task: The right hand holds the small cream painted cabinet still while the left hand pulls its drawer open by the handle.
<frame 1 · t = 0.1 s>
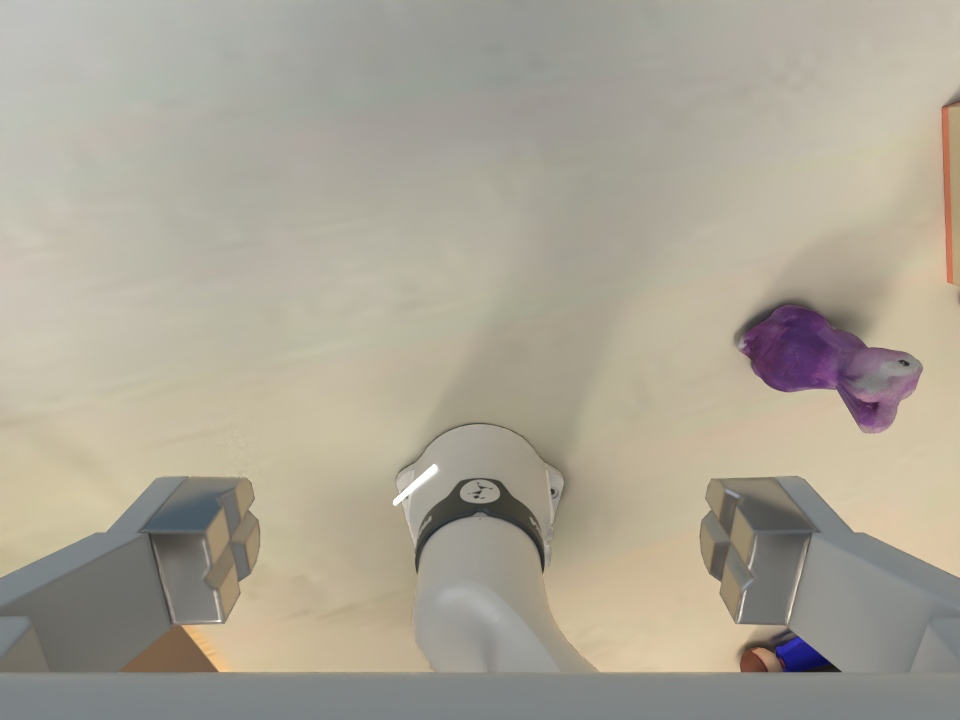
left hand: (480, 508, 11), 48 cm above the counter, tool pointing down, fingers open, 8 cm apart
figurine character: (792, 642, 76), on the counter
figurine: (791, 337, 60), on the counter
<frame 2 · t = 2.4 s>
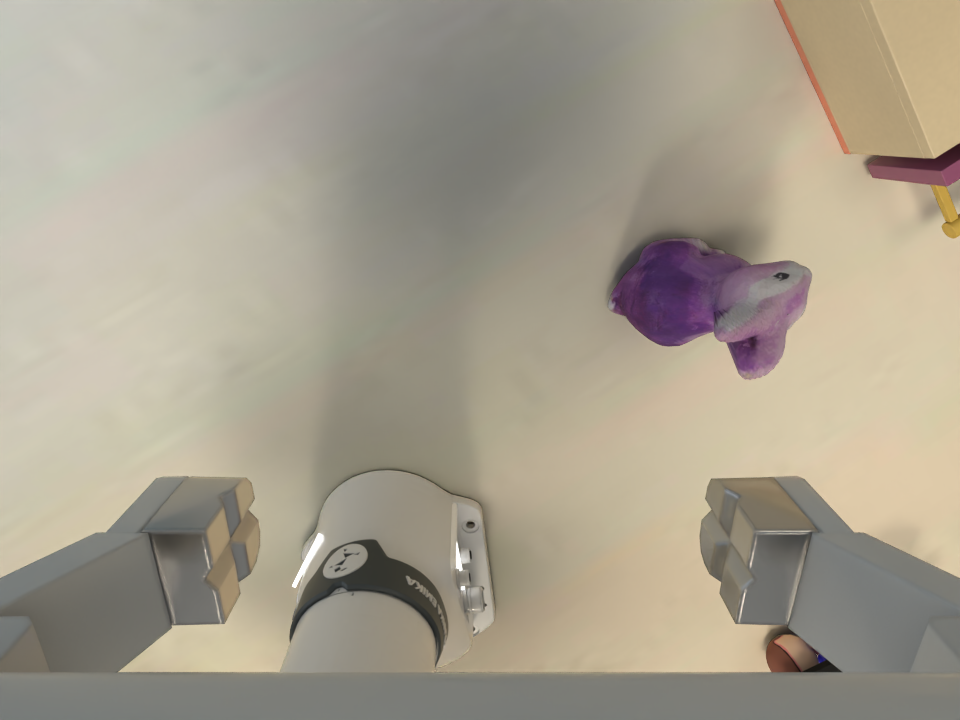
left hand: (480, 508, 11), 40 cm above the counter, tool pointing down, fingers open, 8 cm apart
figurine character: (824, 619, 63), on the counter
drawer: (944, 80, 39), point 5 cm above the counter, slide at 1.4 cm
cabinet: (865, 10, 42), on the counter
figurine: (676, 276, 49), on the counter
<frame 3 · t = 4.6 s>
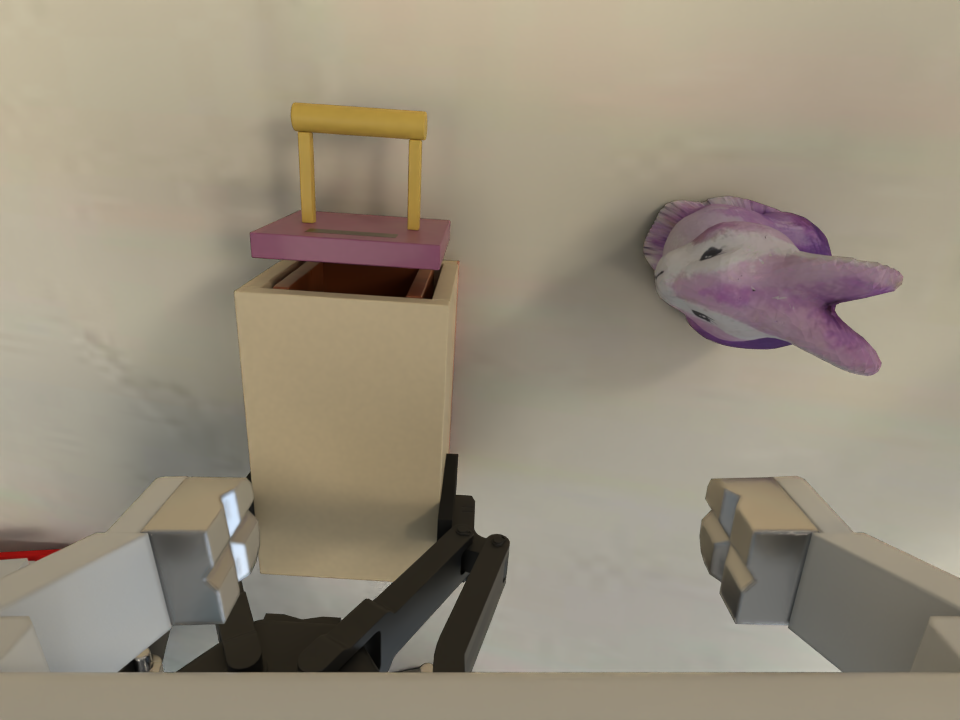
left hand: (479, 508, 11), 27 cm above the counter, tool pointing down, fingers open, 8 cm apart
drawer: (362, 313, 33), point 5 cm above the counter, slide at 1.4 cm
cabinet: (377, 378, 40), on the counter, touching right hand
figurine: (708, 261, 36), on the counter
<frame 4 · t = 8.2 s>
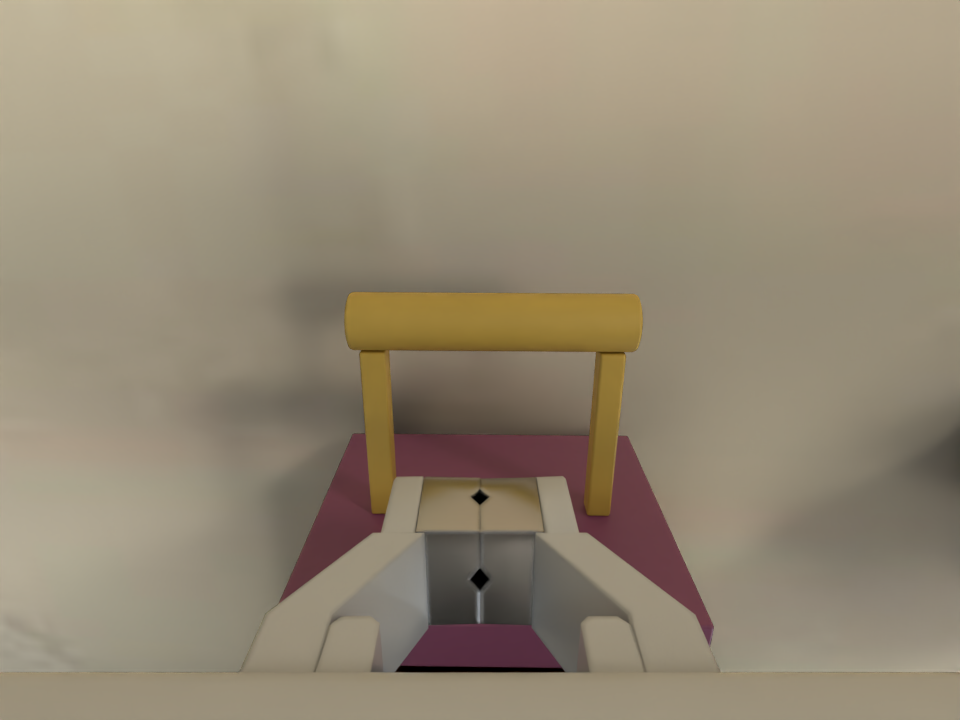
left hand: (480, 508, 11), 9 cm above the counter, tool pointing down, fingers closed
drawer: (488, 646, 17), point 5 cm above the counter, slide at 1.4 cm
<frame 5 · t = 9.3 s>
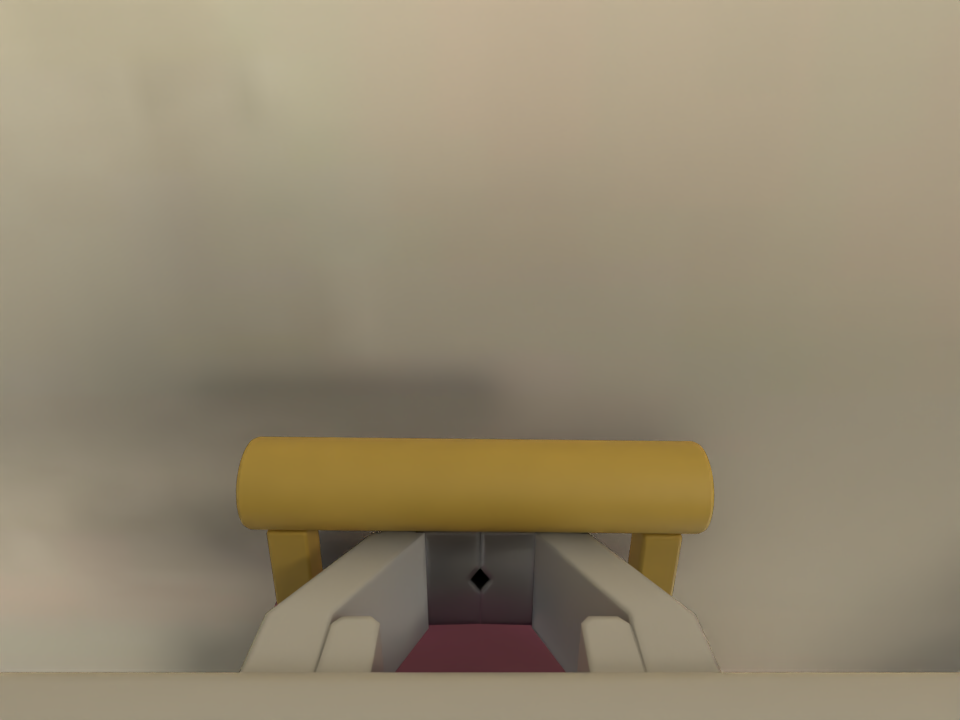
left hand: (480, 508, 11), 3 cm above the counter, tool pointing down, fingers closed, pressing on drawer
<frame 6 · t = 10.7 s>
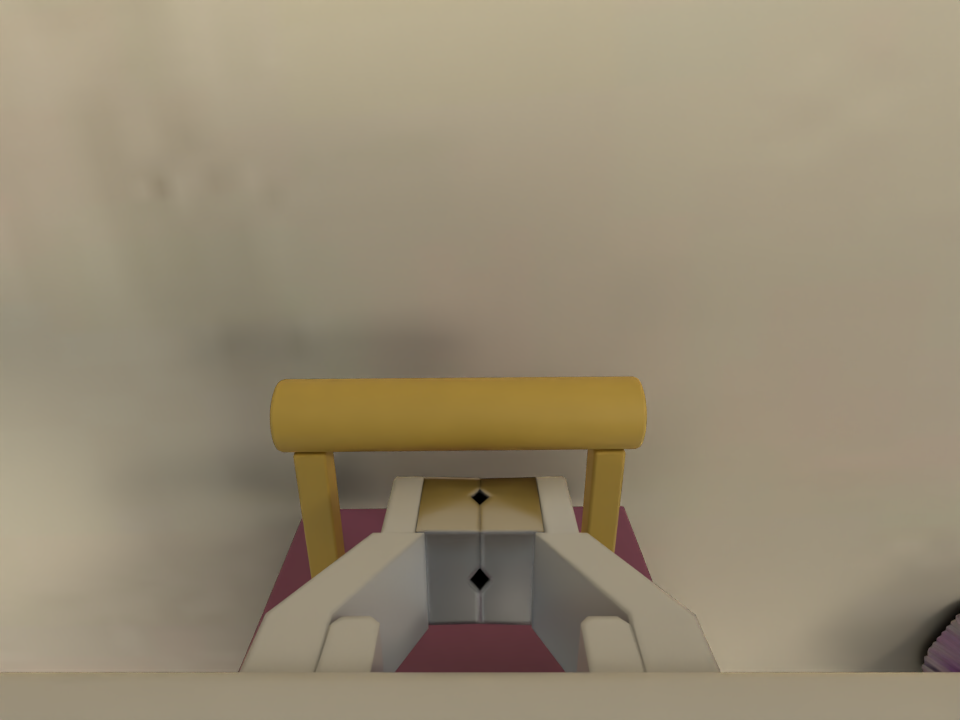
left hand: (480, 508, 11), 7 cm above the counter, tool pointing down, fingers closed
when the right hand's fingers open (5 cm above the counter, at t = 12.0 s): cabinet stays where it is, on the counter.
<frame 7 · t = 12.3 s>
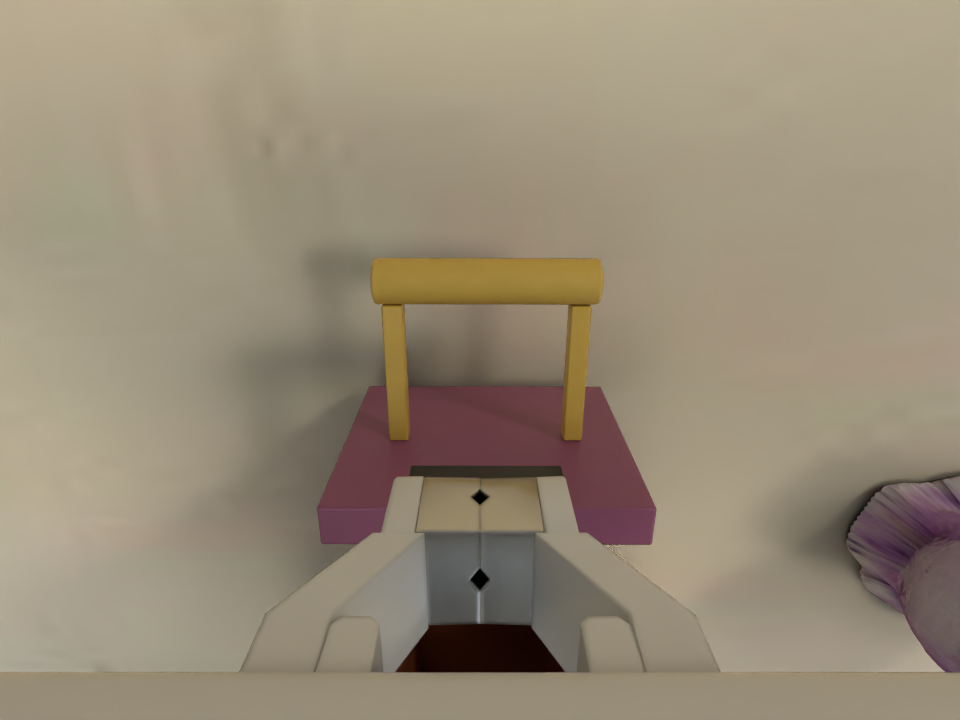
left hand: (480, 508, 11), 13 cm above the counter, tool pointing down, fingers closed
drawer: (484, 556, 21), point 5 cm above the counter, slide at 7.9 cm
figurine: (933, 545, 26), on the counter
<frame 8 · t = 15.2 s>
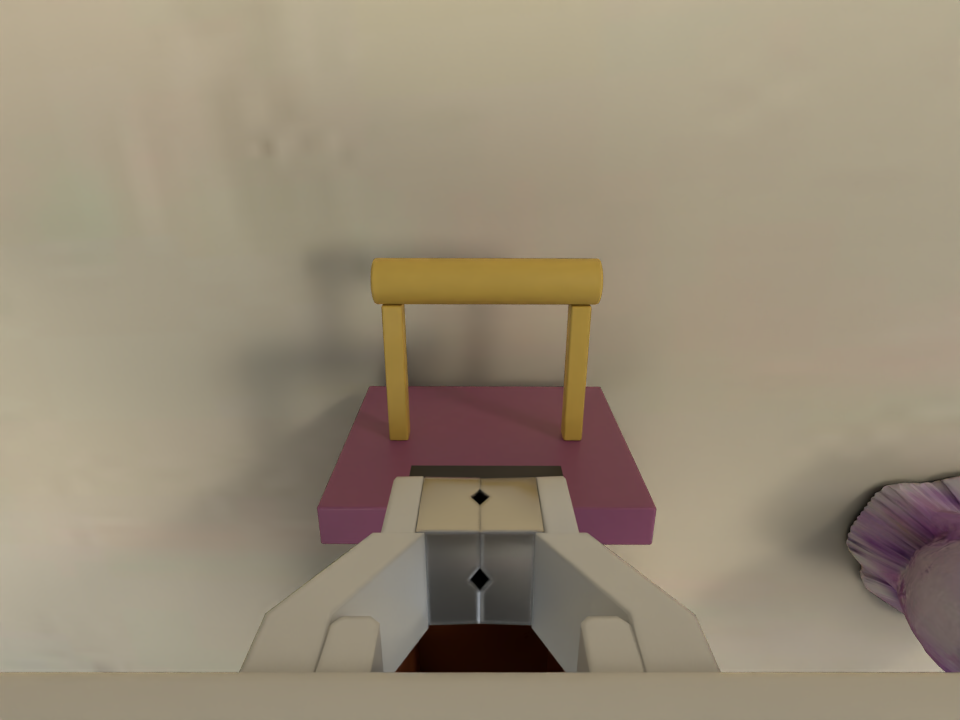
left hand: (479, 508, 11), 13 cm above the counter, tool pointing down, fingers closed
drawer: (484, 556, 21), point 5 cm above the counter, slide at 7.9 cm
figurine: (933, 545, 26), on the counter
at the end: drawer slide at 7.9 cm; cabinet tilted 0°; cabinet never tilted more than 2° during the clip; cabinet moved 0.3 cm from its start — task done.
